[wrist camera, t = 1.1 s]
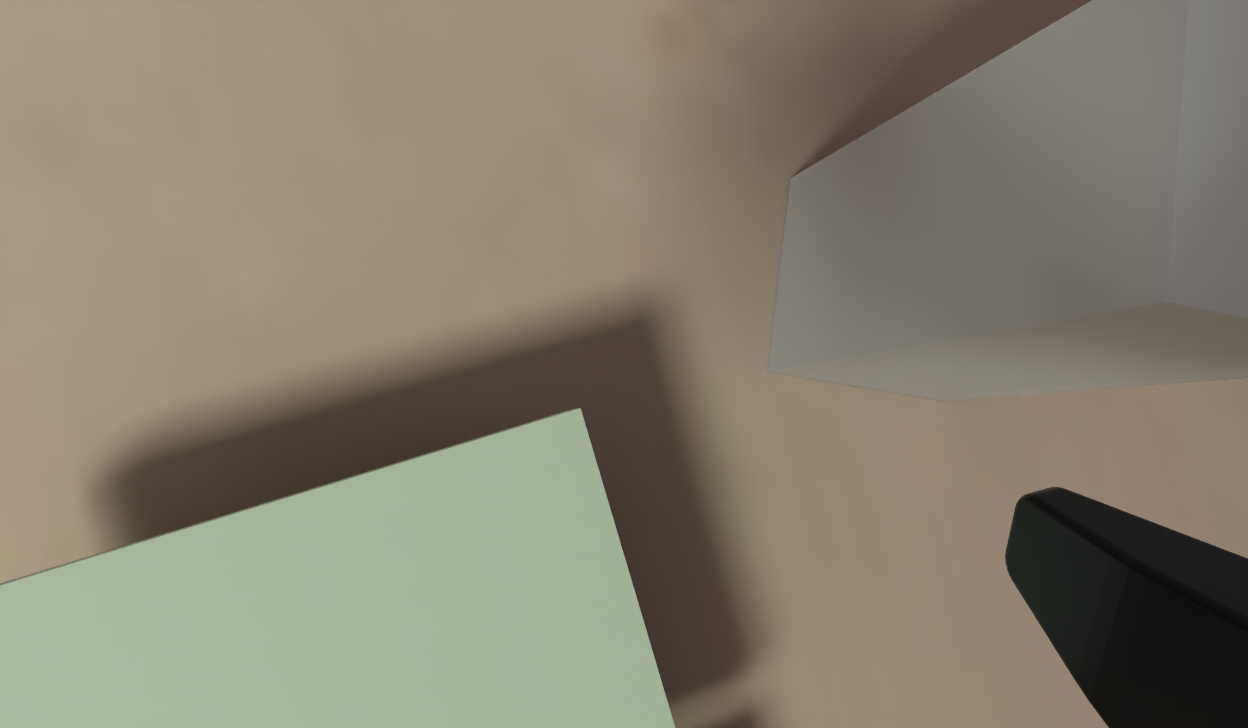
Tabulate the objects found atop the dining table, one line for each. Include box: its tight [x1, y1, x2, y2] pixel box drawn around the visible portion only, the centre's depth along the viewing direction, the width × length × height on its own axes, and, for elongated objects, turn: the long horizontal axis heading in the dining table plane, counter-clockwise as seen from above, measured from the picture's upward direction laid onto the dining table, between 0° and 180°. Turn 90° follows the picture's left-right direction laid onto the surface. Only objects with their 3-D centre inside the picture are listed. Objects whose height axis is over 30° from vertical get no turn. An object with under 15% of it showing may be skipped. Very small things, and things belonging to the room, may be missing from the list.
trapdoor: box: [0, 408, 675, 728], centre depth 20 cm, size 9×12×1 cm
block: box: [768, 0, 1248, 401], centre depth 21 cm, size 5×5×13 cm
